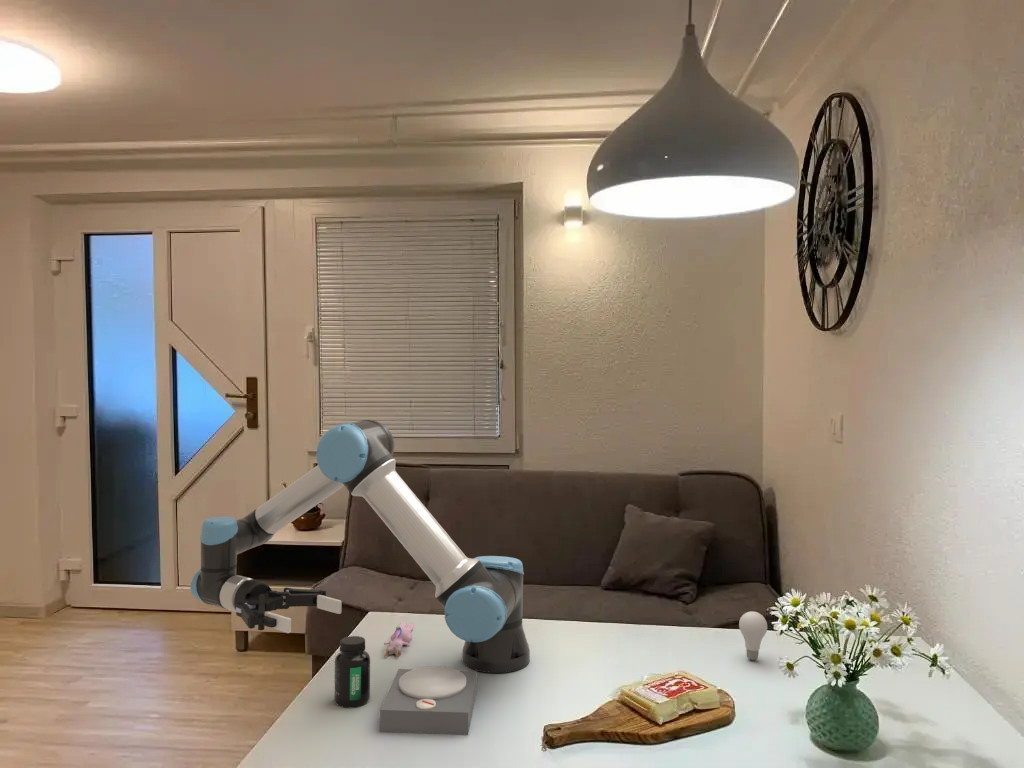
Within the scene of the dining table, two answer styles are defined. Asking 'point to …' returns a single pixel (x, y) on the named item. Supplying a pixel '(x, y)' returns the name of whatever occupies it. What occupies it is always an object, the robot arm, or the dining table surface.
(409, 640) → the pink unicorn toy
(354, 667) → the supplement bottle
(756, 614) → the lightbulb
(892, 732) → the dining table surface
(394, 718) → the kitchen scale
